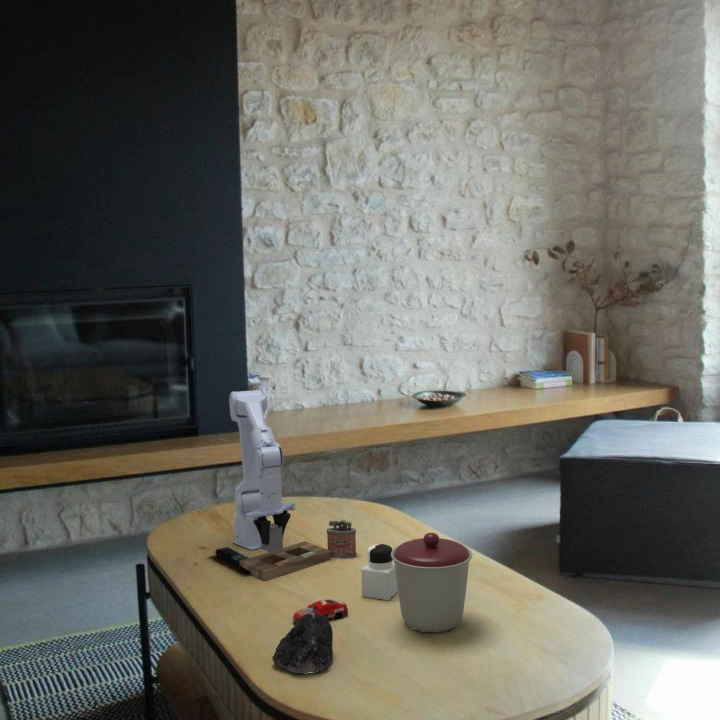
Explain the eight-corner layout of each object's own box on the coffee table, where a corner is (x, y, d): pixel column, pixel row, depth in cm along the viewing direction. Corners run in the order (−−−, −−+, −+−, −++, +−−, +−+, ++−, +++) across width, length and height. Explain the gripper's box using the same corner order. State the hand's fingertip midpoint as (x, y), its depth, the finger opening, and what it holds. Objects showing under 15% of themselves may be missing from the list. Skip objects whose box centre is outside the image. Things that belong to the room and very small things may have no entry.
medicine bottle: (399, 590, 233) (399, 543, 232) (388, 601, 227) (387, 552, 225) (373, 586, 236) (372, 540, 235) (361, 596, 230) (360, 549, 228)
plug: (261, 548, 250) (260, 525, 249) (273, 545, 252) (272, 521, 251) (270, 552, 247) (269, 528, 246) (282, 548, 249) (282, 525, 248)
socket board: (239, 570, 250) (239, 559, 249) (305, 549, 264) (304, 540, 264) (265, 581, 242) (264, 570, 241) (330, 559, 256) (330, 549, 256)
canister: (379, 616, 218) (377, 527, 215) (448, 602, 225) (447, 516, 222) (414, 647, 202) (412, 551, 199) (487, 631, 209) (487, 539, 206)
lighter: (357, 554, 260) (356, 518, 259) (356, 558, 257) (355, 522, 255) (328, 553, 261) (327, 518, 259) (326, 557, 258) (325, 522, 256)
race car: (298, 630, 212) (297, 613, 212) (289, 622, 217) (288, 605, 217) (351, 618, 218) (350, 601, 218) (340, 609, 223) (340, 593, 222)
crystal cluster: (283, 685, 188) (287, 638, 186) (262, 652, 200) (265, 608, 198) (345, 676, 194) (349, 630, 192) (321, 644, 206) (324, 601, 204)
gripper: (256, 500, 239) (258, 552, 241) (301, 488, 249) (303, 538, 251) (240, 494, 245) (242, 545, 246) (285, 484, 254) (286, 532, 256)
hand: (272, 541), depth 249 cm, fingers closed on plug, 4 cm apart
